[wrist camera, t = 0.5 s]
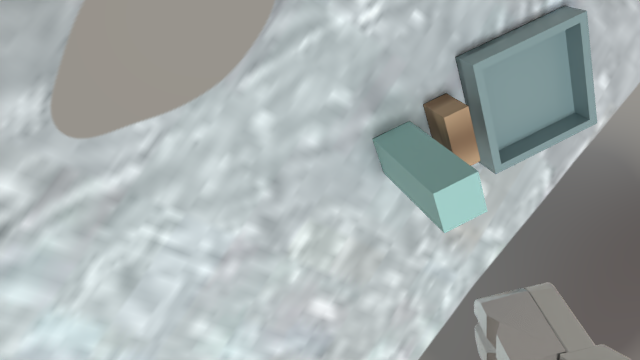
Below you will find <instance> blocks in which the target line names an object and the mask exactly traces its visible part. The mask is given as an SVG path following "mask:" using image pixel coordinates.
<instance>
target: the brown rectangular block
mask: <svg viewBox="0 0 640 360" xmlns="http://www.w3.org/2000/svg"><path fill="white" fill-rule="evenodd" d="M423 106H424V109H425V113H426V117H427V120H428V124H429V128H430V132H431V135H432V138H433V139H435V140H436V141H437V142H439V143H440V144H441V145H443V146H444V147H446V148H447V149H448V150H450V151H451V152H452V153H454V154H455V155H456V156H458V157H459V158H461V159H462V160H463V161H465V162H466V163H467V164H469V165H470V166H471V165H473V164H475V163H477V162H479V161H480V156H479V152H478V147H477V143H476V138H475V134H474V129H473V125H472V120H471V116H470V111H469V107H468V106H467V105H465V104H464V103H462V102H460V101H458V100H457V99H455V98H453V97H451V96H450V95H448V94H444V95H442V96H440V97H438V98H436V99H434V100H431V101H429V102H427V103H425V104H423Z"/></svg>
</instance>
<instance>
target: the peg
mask: <svg viewBox="0 0 640 360" xmlns="http://www.w3.org/2000/svg"><path fill="white" fill-rule="evenodd" d="M373 142H374V145H375V148H376V151H377V154H378V157H379V160H380V163H381V166H382V169H383V172H384V174H385V175H386V176H387V177H388V178H389V179H390V180H391V181H392V182H393V183H394V184H395V185H396V186H397V187H398V188H399V189H400V190H401V191H402V192H403V193H404V194H405V195H407V196H408V197H409V198H410V199H411V200H412V201H413V202H414V203H415V204H416V205H417V206H418V207H419V208H420V209H421V210H422V211H423V212H424V213H425V214H426V215H427V216H428V217H429V218H430V219H431V220H432V221H433V222H434V223H435V224H436V225H437V226H438V227H439V228H440V229H441V230H442V231H443V232H444V233H446V232H448V231H450V230H452V229H454V228H456V227H458V226H460V225H462V224H464V223H465V222H467V221H469V220H471V219H473V218H475V217H477V216H479V215H481V214H483V213H485V212H487V208H486V203H485V199H484V195H483V190H482V186H481V181H480V177H479V173H478V171H477V170H476V169H474V168H473V167H472V166H470V165H469V164H467V163H466V162H465V161H463V160H462V159H461V158H459V157H458V156H456V155H455V154H454V153H452V152H451V151H450V150H448V149H447V148H446V147H444V146H443V145H441V144H440V143H439V142H437V141H436V140H435V139H433V138H432V137H431V136H429V135H428V134H426V133H425V132H424V131H422V130H421V129H420V128H418V127H417V126H415V125H414V124H413V123H411V122H410V121H409V122H407V123H405V124H402V125H400V126H398V127H396V128H394V129H392V130H390V131H388V132H386V133H384V134H382V135H380V136H378V137H376V138H373Z"/></svg>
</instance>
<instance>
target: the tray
mask: <svg viewBox="0 0 640 360" xmlns="http://www.w3.org/2000/svg"><path fill="white" fill-rule="evenodd" d="M456 62H457V66H458V71H459V75H460V80H461V84H462V88H463V93H464V97H465V102H466V105H467V106H468V107H469V111H470V116H471V120H472V125H473V129H474V134H475V138H476V143H477V147H478V152H479V156H480V161H479V163H481V164H482V165H483V166H485V167H486V168H488V169H489V170H491V171H492V172H493V173H495V174H497V173H499V172H501V171H503V170H505V169H507V168H509V167H511V166H513V165H515V164H517V163H519V162H521V161H523V160H525V159H527V158H529V157H531V156H533V155H535V154H537V153H539V152H541V151H543V150H545V149H547V148H549V147H551V146H553V145H555V144H557V143H559V142H561V141H563V140H565V139H567V138H569V137H571V136H573V135H575V134H576V133H578V132H580V131H582V130H584V129H586V128H588V127H590V126H592V125H594V124H596V123H597V116H596V105H595V94H594V83H593V72H592V62H591V51H590V40H589V29H588V18H587V11H585V10H581V9H576V8H571V7H567V6H563V7H561V8H559V9H557V10H555V11H553V12H551V13H548V14H546V15H544V16H542V17H540V18H538V19H536V20H534V21H532V22H529V23H527V24H525V25H523V26H521V27H519V28H517V29H515V30H512V31H510V32H508V33H506V34H504V35H502V36H500V37H498V38H496V39H493V40H491V41H489V42H487V43H485V44H483V45H481V46H479V47H477V48H474V49H472V50H470V51H468V52H466V53H464V54H462V55H460V56H457V57H456Z"/></svg>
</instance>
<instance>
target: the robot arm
mask: <svg viewBox="0 0 640 360" xmlns="http://www.w3.org/2000/svg"><path fill="white" fill-rule="evenodd" d="M474 313H475V315H476V317H477V319H478V321H479V322H478V323H477V325H476V326H475V339H476V343H477V348H478V352H479V355H480V357H481V360H632V359H630V358H628V357H626V356H624V355H622V354H621V353H619V352H617V351H615V350H613V349H611V348H609V347H608V346H606V345H604V344H601V345H596V346H595V344H594V343H593V341H592V340H591V338H590V337H589V336H588V334H587V333H586V332H585V330H584V328H583V327H582V325H581V324H580V323H579V321H578V320H577V318H576V317H575V315H574V314H573V313H572V311H571V310H570V308H569V307H568V305H567V304H566V303H565V301H564V300H563V298H562V297H561V295H560V294H559V292H558V291H557V290H556V288H555V287H554V286H553V285H552V284H551V283H549V282H547V283H543V284H539V285H535V286H531V287H526V288H524V289H523V288H520V289H516V290H512V291H508V292H504V293H500V294H496V295H492V296H488V297H484V298H480V299H476V300H475V303H474Z"/></svg>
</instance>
